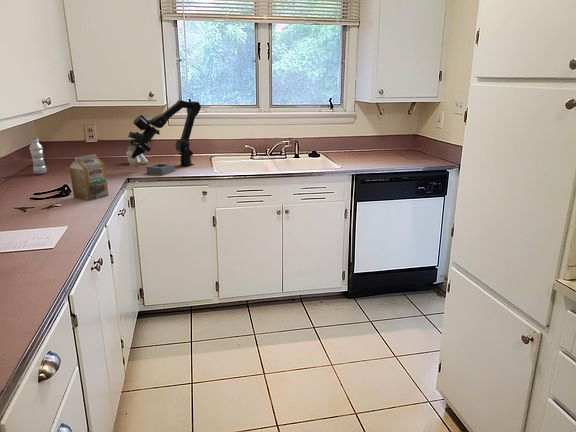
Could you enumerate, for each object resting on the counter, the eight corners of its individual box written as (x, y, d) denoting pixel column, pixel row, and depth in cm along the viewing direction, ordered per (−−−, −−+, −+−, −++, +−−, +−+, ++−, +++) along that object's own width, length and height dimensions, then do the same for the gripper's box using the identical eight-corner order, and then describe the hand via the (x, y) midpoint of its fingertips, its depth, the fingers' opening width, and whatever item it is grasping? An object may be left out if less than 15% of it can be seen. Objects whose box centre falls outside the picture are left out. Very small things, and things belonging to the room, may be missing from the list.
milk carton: (88, 201, 200) (82, 158, 195) (74, 197, 206) (67, 156, 200) (108, 195, 209) (103, 155, 203) (94, 192, 214) (88, 153, 208)
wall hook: (145, 164, 276) (140, 148, 274) (130, 167, 279) (125, 152, 276) (151, 162, 284) (146, 146, 281) (137, 165, 286) (132, 149, 284)
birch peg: (133, 167, 259) (131, 145, 255) (139, 167, 258) (137, 146, 254) (128, 168, 255) (125, 146, 252) (134, 169, 254) (132, 147, 250)
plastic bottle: (50, 173, 254) (44, 137, 248) (39, 175, 248) (33, 139, 242) (42, 172, 257) (36, 137, 251) (31, 174, 251) (25, 138, 245)
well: (159, 169, 264) (158, 163, 263) (174, 171, 260) (174, 164, 259) (146, 173, 254) (146, 166, 253) (162, 175, 250) (162, 168, 249)
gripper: (130, 124, 258) (113, 146, 255) (143, 127, 245) (125, 150, 242) (144, 137, 266) (128, 158, 262) (158, 141, 252) (141, 162, 249)
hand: (130, 157), depth 254 cm, fingers closed on birch peg, 4 cm apart
